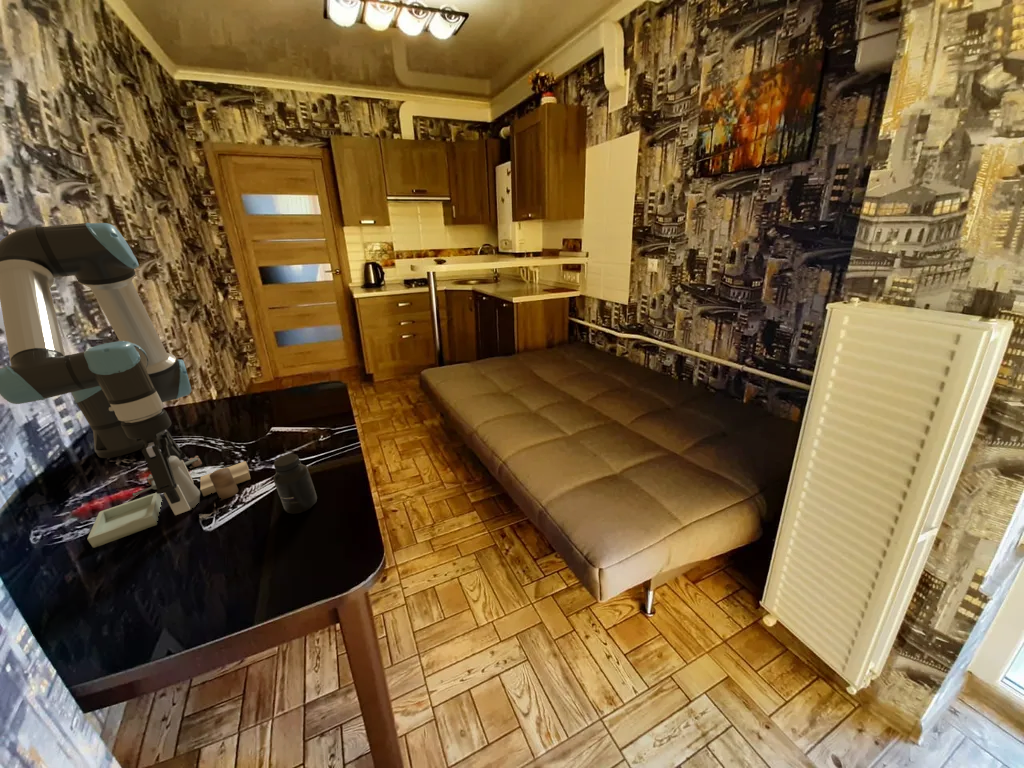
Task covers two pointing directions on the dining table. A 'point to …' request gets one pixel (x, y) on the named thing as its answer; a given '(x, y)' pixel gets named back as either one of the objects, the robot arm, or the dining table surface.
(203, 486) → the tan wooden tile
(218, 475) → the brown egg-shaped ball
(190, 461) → the clamp
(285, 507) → the supplement bottle
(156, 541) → the dining table surface
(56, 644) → the dining table surface
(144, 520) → the tray
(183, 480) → the salt shaker
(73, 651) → the dining table surface
